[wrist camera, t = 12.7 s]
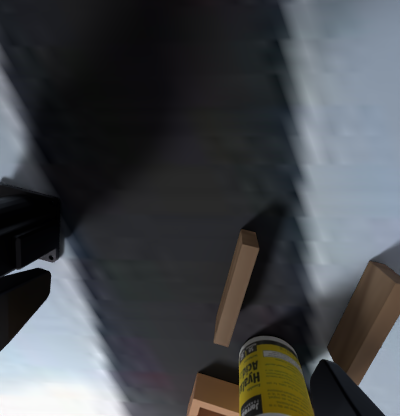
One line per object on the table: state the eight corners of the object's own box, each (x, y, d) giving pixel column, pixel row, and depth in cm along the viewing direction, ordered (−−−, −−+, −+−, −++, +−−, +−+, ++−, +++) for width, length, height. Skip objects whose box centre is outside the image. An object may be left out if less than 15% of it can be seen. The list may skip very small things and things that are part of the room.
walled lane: (216, 315, 21) (213, 342, 18) (241, 228, 18) (242, 244, 15) (340, 351, 20) (358, 385, 17) (385, 264, 17) (415, 287, 15)
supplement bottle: (248, 325, 21) (259, 472, 11) (306, 344, 20) (366, 511, 11) (231, 367, 22) (228, 525, 13) (284, 385, 22) (321, 561, 13)
